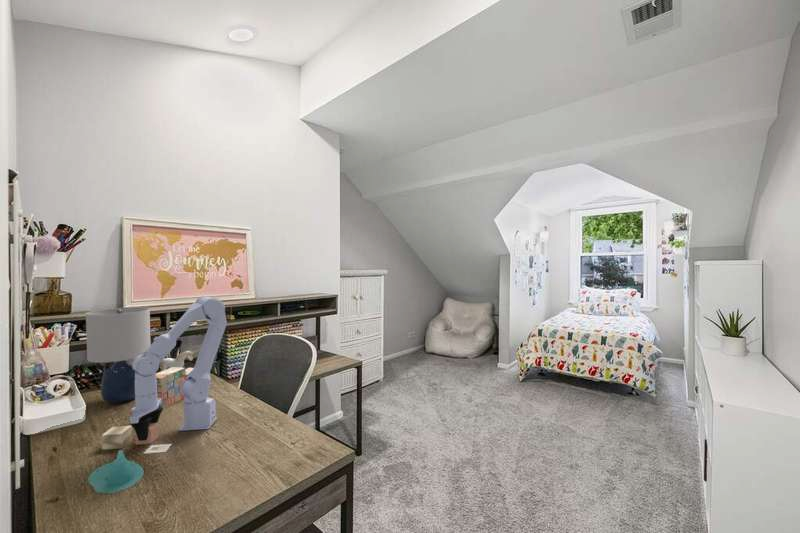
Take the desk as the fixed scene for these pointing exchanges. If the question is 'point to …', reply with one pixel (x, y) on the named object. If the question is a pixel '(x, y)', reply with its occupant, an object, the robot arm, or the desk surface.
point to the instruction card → (157, 448)
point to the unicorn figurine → (176, 360)
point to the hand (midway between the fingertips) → (147, 435)
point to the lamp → (117, 347)
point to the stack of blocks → (171, 385)
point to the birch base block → (116, 437)
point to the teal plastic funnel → (116, 475)
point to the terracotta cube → (150, 434)
